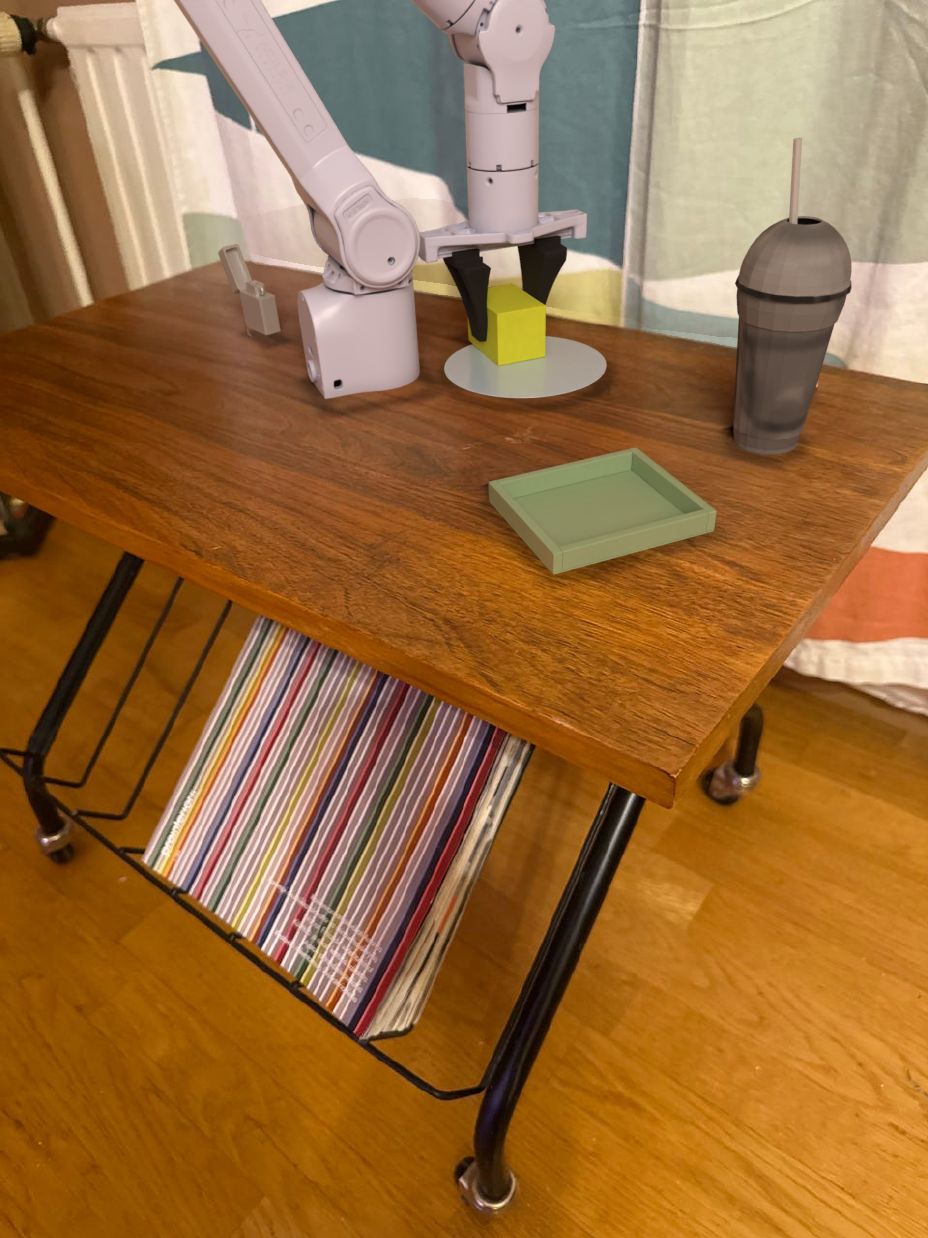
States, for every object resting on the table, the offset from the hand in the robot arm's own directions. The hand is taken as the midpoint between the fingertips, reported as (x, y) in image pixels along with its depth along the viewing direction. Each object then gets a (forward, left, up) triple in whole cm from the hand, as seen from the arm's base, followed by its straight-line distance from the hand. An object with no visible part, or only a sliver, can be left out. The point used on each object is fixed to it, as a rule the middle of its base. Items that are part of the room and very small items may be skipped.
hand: (505, 333), depth 80 cm
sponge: (0, 0, -1) cm, 1 cm away
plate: (0, -4, -2) cm, 5 cm away
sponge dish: (-6, -28, -2) cm, 29 cm away
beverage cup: (+10, -24, -3) cm, 26 cm away
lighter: (-19, +18, -3) cm, 26 cm away
